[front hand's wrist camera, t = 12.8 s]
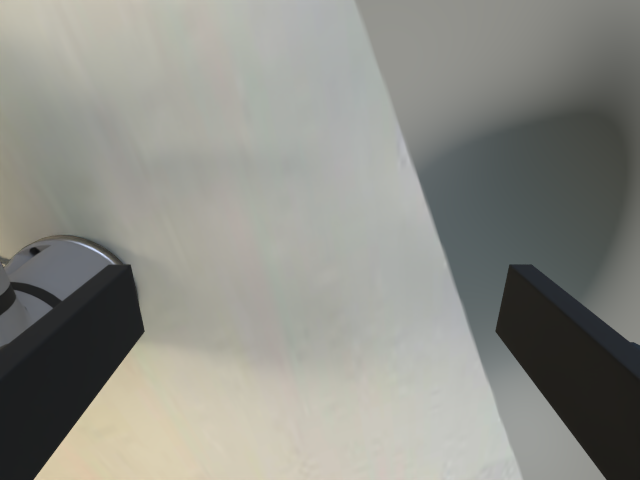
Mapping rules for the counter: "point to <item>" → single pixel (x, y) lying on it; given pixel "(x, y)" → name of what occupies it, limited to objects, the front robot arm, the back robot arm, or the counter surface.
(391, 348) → the counter surface
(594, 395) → the front robot arm
